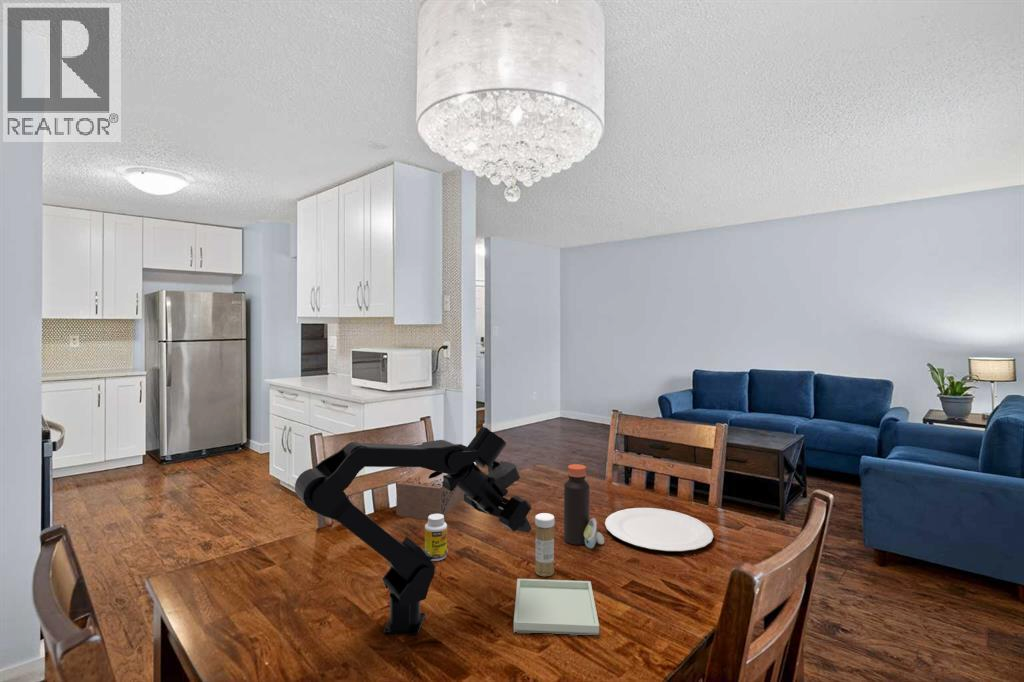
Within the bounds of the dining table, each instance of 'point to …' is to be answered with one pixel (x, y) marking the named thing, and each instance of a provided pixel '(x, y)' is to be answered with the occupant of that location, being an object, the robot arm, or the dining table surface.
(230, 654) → the dining table surface
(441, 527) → the supplement bottle
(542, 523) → the spice jar
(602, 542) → the pacifier
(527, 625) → the tray
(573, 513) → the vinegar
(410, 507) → the tissue box cover
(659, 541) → the plate
